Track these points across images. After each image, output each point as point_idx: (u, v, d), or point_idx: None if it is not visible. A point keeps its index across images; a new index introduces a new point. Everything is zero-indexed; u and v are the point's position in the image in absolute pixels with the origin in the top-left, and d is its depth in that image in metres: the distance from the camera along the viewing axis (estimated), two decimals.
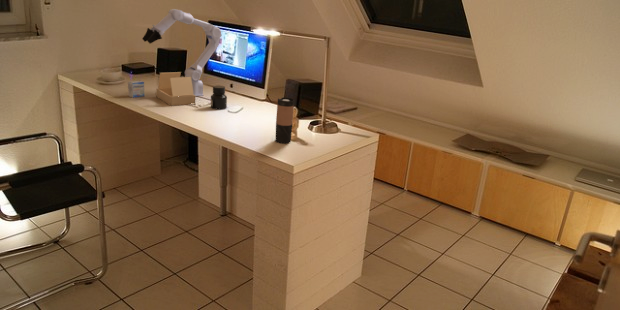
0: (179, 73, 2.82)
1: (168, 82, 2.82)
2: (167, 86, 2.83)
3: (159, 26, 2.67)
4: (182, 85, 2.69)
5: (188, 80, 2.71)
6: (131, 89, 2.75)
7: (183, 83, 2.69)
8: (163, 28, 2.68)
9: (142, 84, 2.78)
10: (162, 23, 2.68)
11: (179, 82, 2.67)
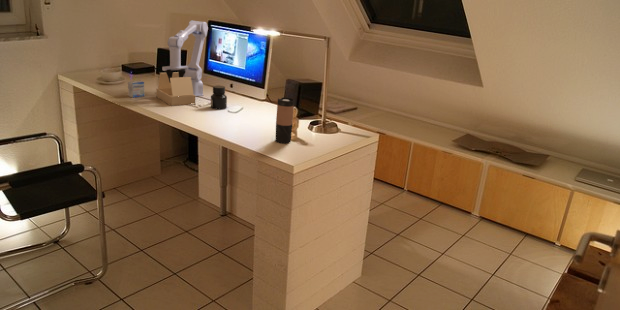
0: None
1: (168, 82, 2.82)
2: (167, 86, 2.83)
3: (180, 64, 2.71)
4: (182, 85, 2.69)
5: (188, 80, 2.71)
6: (131, 89, 2.75)
7: (183, 83, 2.69)
8: None
9: (142, 84, 2.78)
10: (180, 60, 2.70)
11: (179, 82, 2.67)
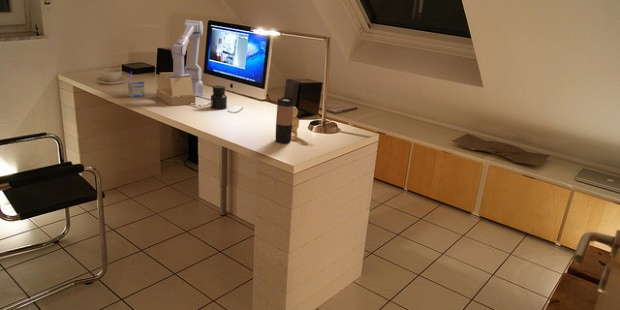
0: None
1: (168, 82, 2.82)
2: (167, 86, 2.83)
3: (183, 72, 2.69)
4: (182, 85, 2.69)
5: (188, 80, 2.71)
6: (131, 89, 2.75)
7: (183, 83, 2.69)
8: None
9: (142, 84, 2.78)
10: (183, 67, 2.68)
11: (179, 82, 2.67)
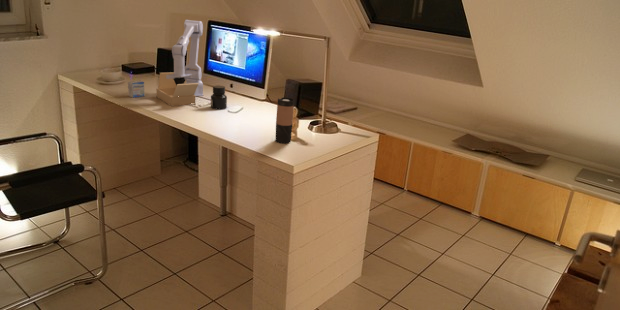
0: None
1: (168, 82, 2.82)
2: (167, 86, 2.83)
3: (184, 72, 2.69)
4: (186, 89, 2.65)
5: (194, 86, 2.66)
6: (131, 89, 2.75)
7: (187, 88, 2.65)
8: None
9: (142, 84, 2.78)
10: (184, 68, 2.68)
11: (184, 88, 2.63)
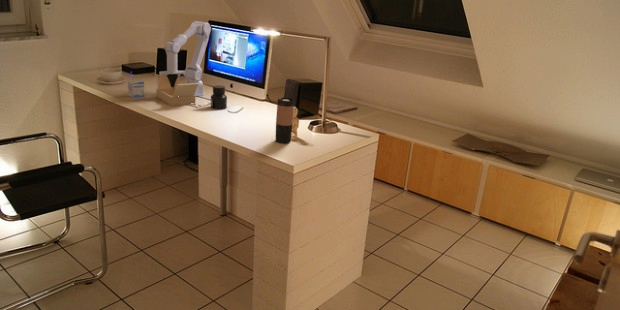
0: None
1: (168, 82, 2.82)
2: (167, 86, 2.83)
3: None
4: (186, 89, 2.65)
5: (194, 86, 2.66)
6: (131, 89, 2.75)
7: (187, 88, 2.65)
8: None
9: (142, 84, 2.78)
10: None
11: (184, 88, 2.63)
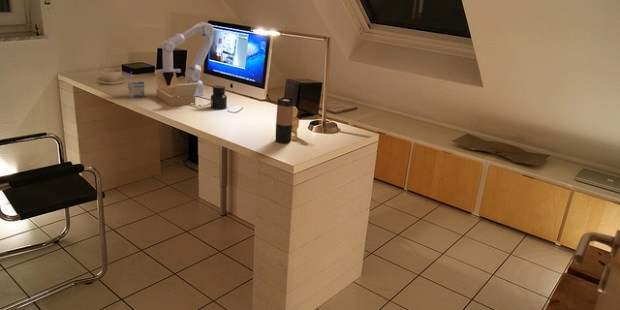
0: None
1: None
2: (166, 85, 2.84)
3: (172, 67, 2.80)
4: (186, 89, 2.65)
5: (194, 86, 2.66)
6: (131, 89, 2.75)
7: (187, 88, 2.65)
8: None
9: (142, 84, 2.78)
10: (172, 63, 2.79)
11: (184, 88, 2.63)
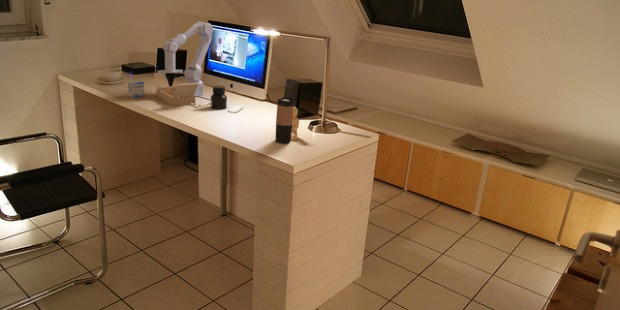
0: None
1: (165, 82, 2.85)
2: (166, 86, 2.84)
3: None
4: (186, 89, 2.65)
5: (194, 86, 2.66)
6: (131, 89, 2.75)
7: (187, 88, 2.65)
8: None
9: (142, 84, 2.78)
10: (174, 64, 2.77)
11: (184, 88, 2.63)
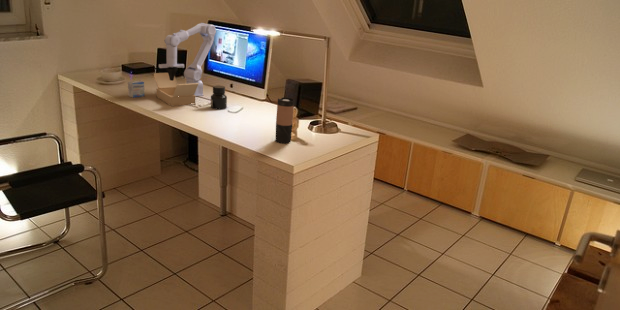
0: None
1: (165, 82, 2.85)
2: (166, 86, 2.84)
3: (176, 62, 2.77)
4: (186, 89, 2.65)
5: (194, 86, 2.66)
6: (131, 89, 2.75)
7: (187, 88, 2.65)
8: None
9: (142, 84, 2.78)
10: (176, 58, 2.76)
11: (184, 88, 2.63)
